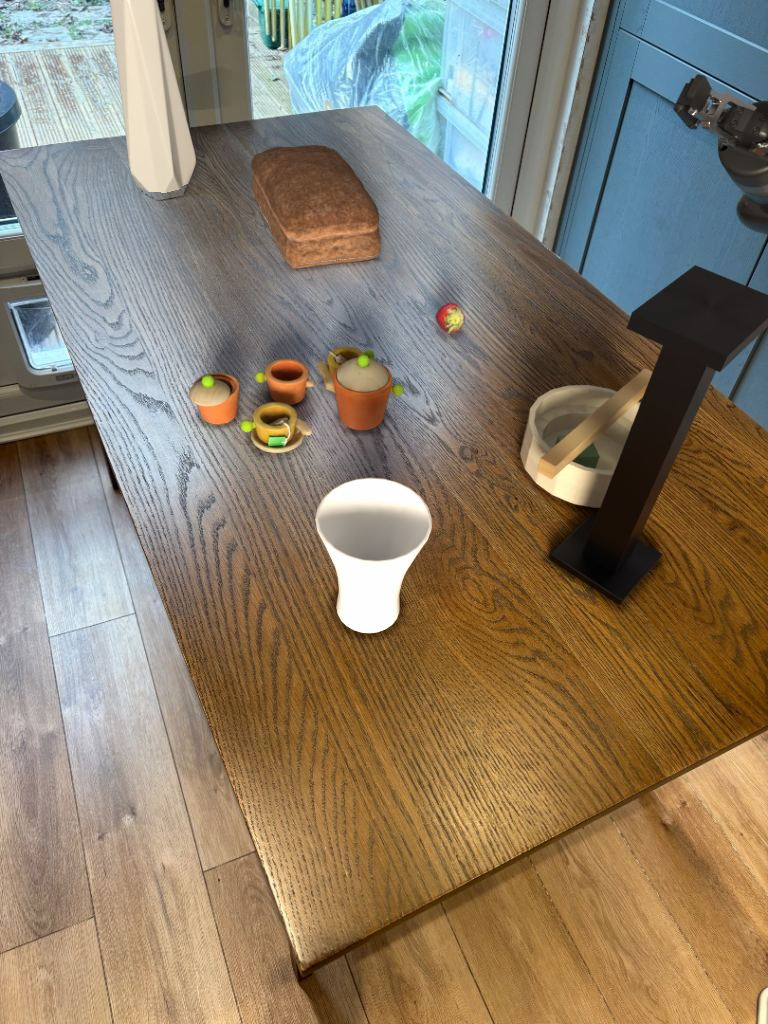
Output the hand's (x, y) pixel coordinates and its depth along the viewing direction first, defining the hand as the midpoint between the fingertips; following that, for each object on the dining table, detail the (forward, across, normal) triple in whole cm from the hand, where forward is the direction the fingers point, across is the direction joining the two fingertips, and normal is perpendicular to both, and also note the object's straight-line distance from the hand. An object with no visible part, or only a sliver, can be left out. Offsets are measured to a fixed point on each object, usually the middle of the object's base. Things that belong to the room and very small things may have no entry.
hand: (737, 98), depth 68 cm
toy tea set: (+2, -32, +48) cm, 58 cm away
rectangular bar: (-12, 0, +34) cm, 35 cm away
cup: (+16, -4, +57) cm, 59 cm away
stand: (-4, +10, +45) cm, 46 cm away
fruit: (-24, -31, +34) cm, 51 cm away
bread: (-30, -68, +30) cm, 80 cm away
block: (-12, 0, +40) cm, 41 cm away
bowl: (-14, 0, +39) cm, 41 cm away
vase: (-20, -96, +36) cm, 104 cm away
